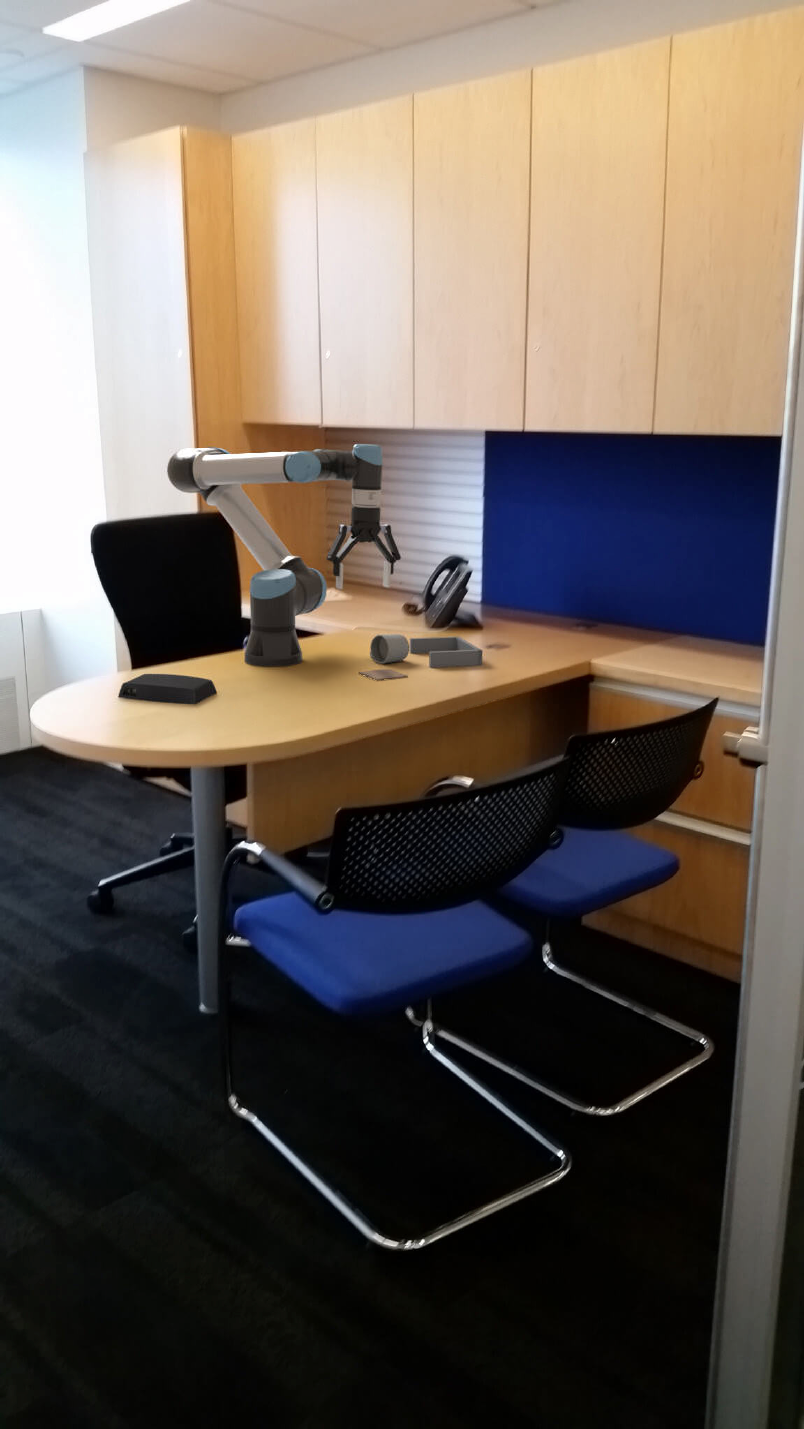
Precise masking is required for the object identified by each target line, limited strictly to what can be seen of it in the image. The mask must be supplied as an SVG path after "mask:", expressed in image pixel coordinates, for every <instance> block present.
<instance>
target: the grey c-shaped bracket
mask: <svg viewBox="0 0 804 1429" xmlns="http://www.w3.org/2000/svg"><path fill="white" fill-rule="evenodd" d="M409 653H410V654H427V653H428V654H429V657H428V658H429V660H428V666H429V667H428V668H451V667H453V668H454V667H476V666H479V667H480V666H483V650H482V649H481V648H479V647H477V646H476V645H474V644H472V643H470V642H469V641H467V640H465V639H463V638H462V637H461V636H440V637H439V636H437V637H436V636H435V637H411V638H409Z"/></svg>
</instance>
